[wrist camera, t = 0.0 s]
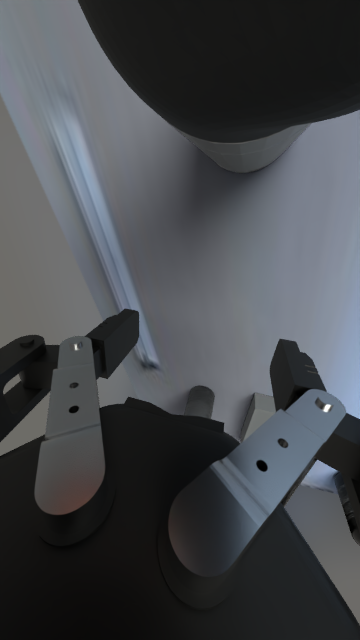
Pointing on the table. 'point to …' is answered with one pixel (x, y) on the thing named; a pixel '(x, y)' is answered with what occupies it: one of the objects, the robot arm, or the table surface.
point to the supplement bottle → (347, 507)
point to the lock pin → (200, 402)
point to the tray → (257, 414)
